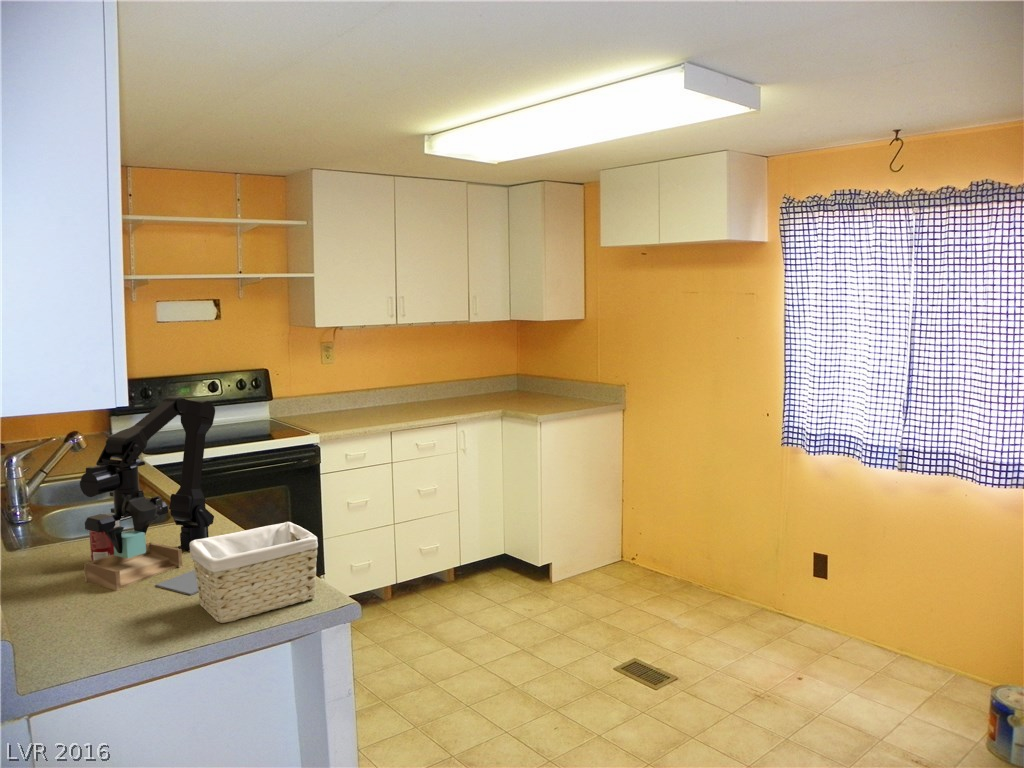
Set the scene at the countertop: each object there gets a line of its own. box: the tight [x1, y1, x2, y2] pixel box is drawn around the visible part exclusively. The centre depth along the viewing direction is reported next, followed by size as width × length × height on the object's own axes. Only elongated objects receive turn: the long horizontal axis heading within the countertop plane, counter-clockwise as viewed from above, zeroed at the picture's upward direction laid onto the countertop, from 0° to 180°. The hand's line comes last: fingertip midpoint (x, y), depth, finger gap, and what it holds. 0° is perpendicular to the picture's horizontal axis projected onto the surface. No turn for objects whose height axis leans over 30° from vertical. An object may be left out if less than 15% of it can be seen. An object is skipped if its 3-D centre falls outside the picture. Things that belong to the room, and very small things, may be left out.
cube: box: [114, 529, 147, 559], centre depth 194 cm, size 5×5×5 cm
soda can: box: [88, 513, 115, 562], centre depth 202 cm, size 7×7×12 cm
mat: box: [154, 569, 199, 596], centre depth 189 cm, size 12×12×1 cm
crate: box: [83, 541, 183, 591], centre depth 194 cm, size 18×12×4 cm, turn 151°
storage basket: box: [189, 521, 319, 624], centre depth 176 cm, size 24×16×15 cm
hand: (130, 549), depth 194 cm, fingers closed on cube, 5 cm apart
